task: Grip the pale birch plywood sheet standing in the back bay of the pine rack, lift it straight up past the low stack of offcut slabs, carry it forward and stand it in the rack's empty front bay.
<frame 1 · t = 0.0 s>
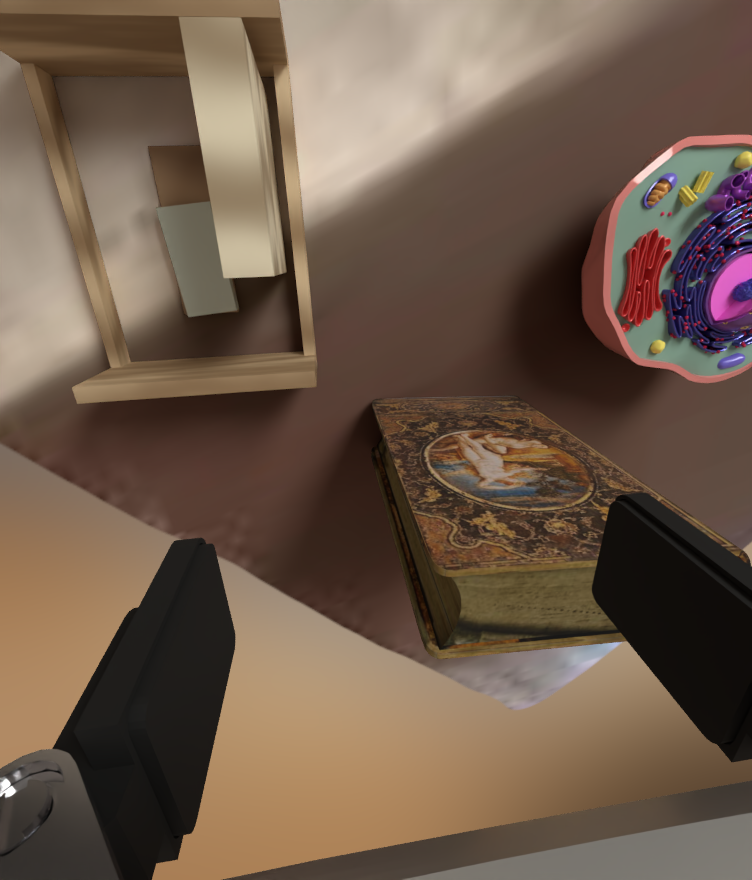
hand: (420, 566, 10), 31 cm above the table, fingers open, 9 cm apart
offcut slab top: (202, 261, 34), resting on offcut slab bottom
offcut slab bottom: (200, 236, 34), on the table, touching offcut slab top
birch sheet: (258, 191, 33), on the table
cell model: (637, 268, 39), on the table
pine rack: (197, 233, 33), on the table
book: (447, 421, 43), on the table
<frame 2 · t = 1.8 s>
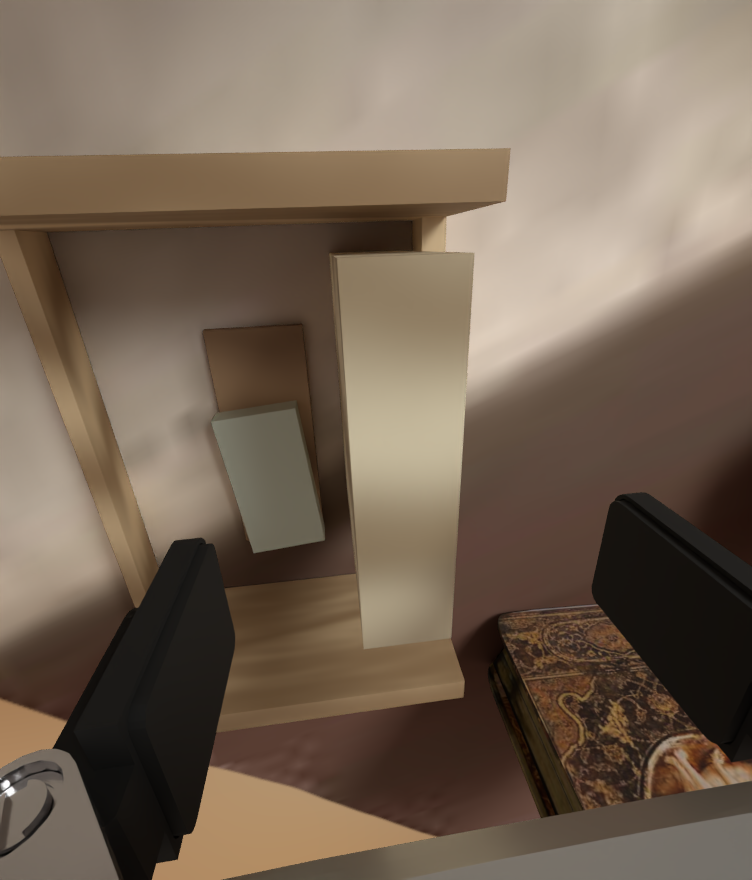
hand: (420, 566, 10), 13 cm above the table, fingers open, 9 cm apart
offcut slab top: (275, 474, 22), resting on offcut slab bottom
offcut slab bottom: (273, 435, 23), on the table, touching offcut slab top
birch sheet: (367, 379, 21), on the table
pine rack: (272, 437, 22), on the table
book: (587, 628, 32), on the table
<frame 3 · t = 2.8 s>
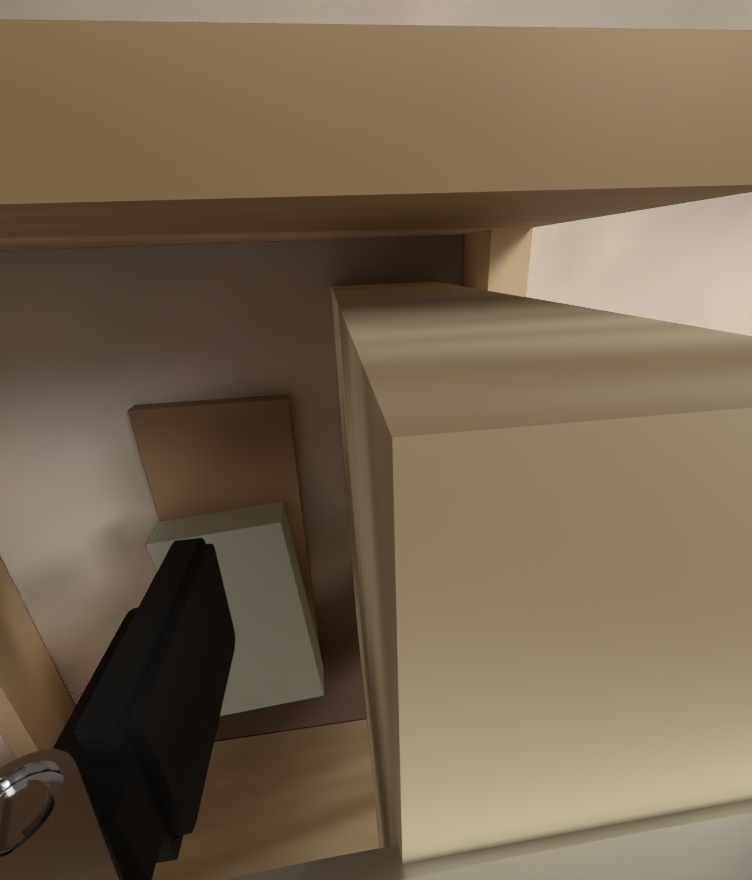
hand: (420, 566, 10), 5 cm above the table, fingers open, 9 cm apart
offcut slab top: (251, 603, 15), resting on offcut slab bottom
offcut slab bottom: (248, 546, 16), on the table, touching offcut slab top
birch sheet: (388, 470, 14), on the table
pine rack: (245, 554, 15), on the table
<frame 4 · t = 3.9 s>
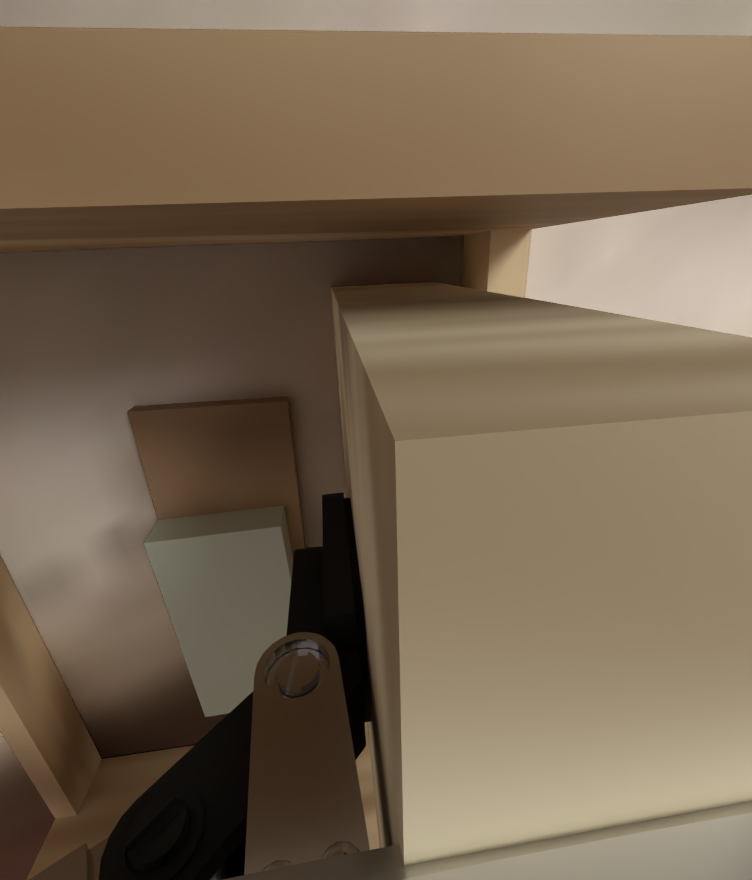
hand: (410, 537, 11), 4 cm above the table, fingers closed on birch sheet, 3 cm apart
offcut slab top: (244, 604, 15), resting on offcut slab bottom
offcut slab bottom: (246, 547, 16), on the table, touching offcut slab top
birch sheet: (388, 470, 14), on the table, touching gripper
pine rack: (245, 554, 15), on the table
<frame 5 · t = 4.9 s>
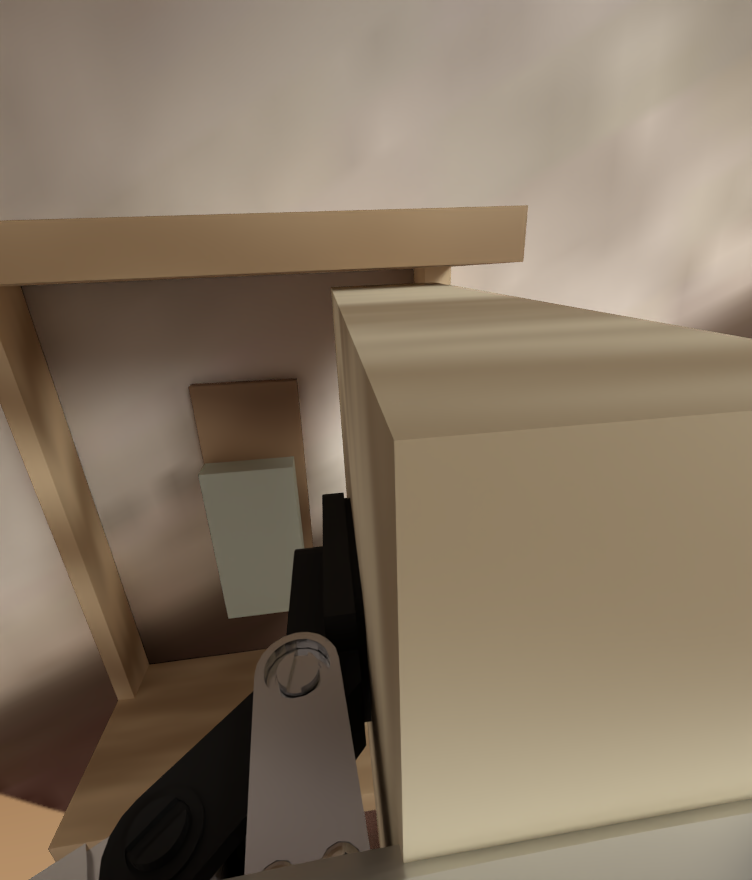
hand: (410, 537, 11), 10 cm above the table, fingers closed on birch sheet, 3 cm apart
offcut slab top: (261, 533, 21), resting on offcut slab bottom
offcut slab bottom: (264, 492, 21), on the table
birch sheet: (388, 470, 14), point 6 cm above the table, touching gripper
pine rack: (264, 495, 20), on the table
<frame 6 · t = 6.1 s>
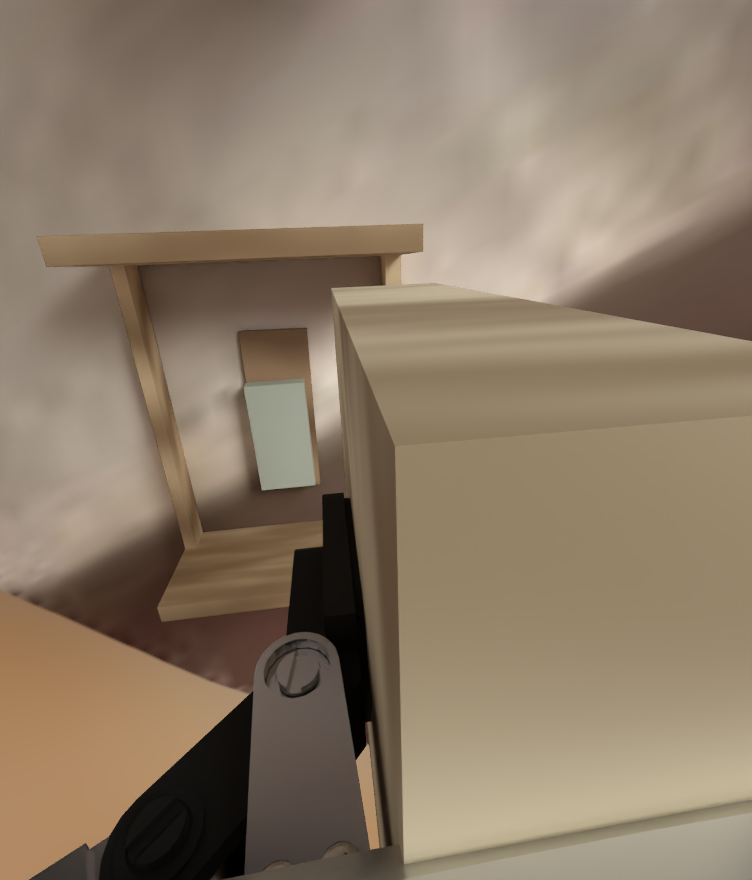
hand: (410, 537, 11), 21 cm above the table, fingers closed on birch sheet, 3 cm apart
offcut slab top: (283, 432, 31), resting on offcut slab bottom
offcut slab bottom: (283, 409, 31), on the table
birch sheet: (388, 471, 14), point 17 cm above the table, touching gripper
pine rack: (283, 408, 30), on the table
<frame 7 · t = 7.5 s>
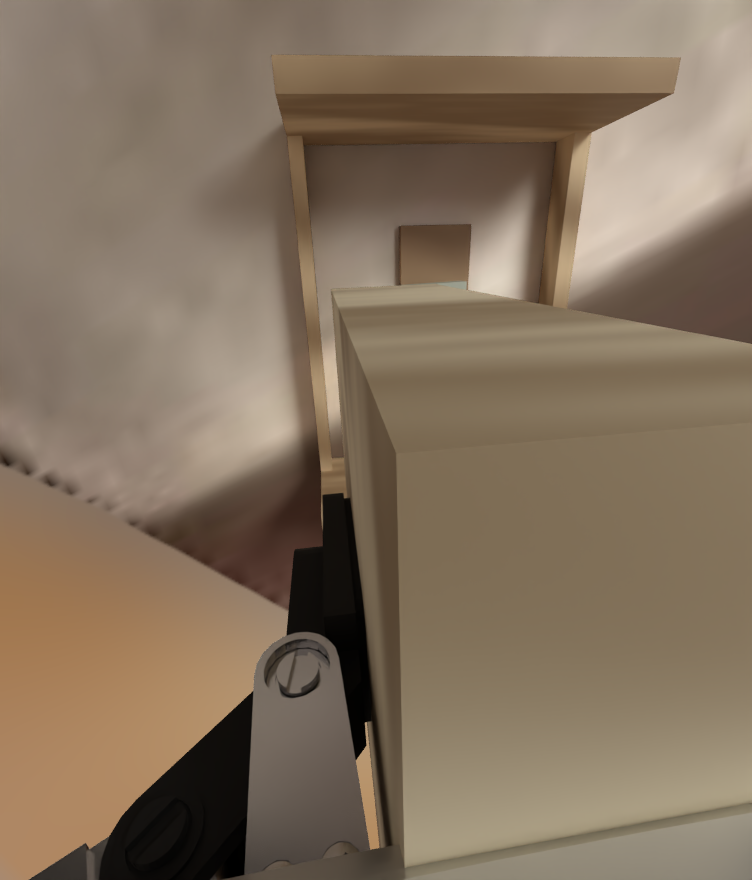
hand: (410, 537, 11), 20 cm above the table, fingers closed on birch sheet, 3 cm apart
offcut slab bottom: (429, 321, 29), on the table, touching offcut slab top
birch sheet: (389, 472, 14), point 16 cm above the table, touching gripper
pine rack: (432, 318, 28), on the table
when the fingers open (5 cm above the table, at t = 10.7 s): birch sheet drops 1 cm, on the table.
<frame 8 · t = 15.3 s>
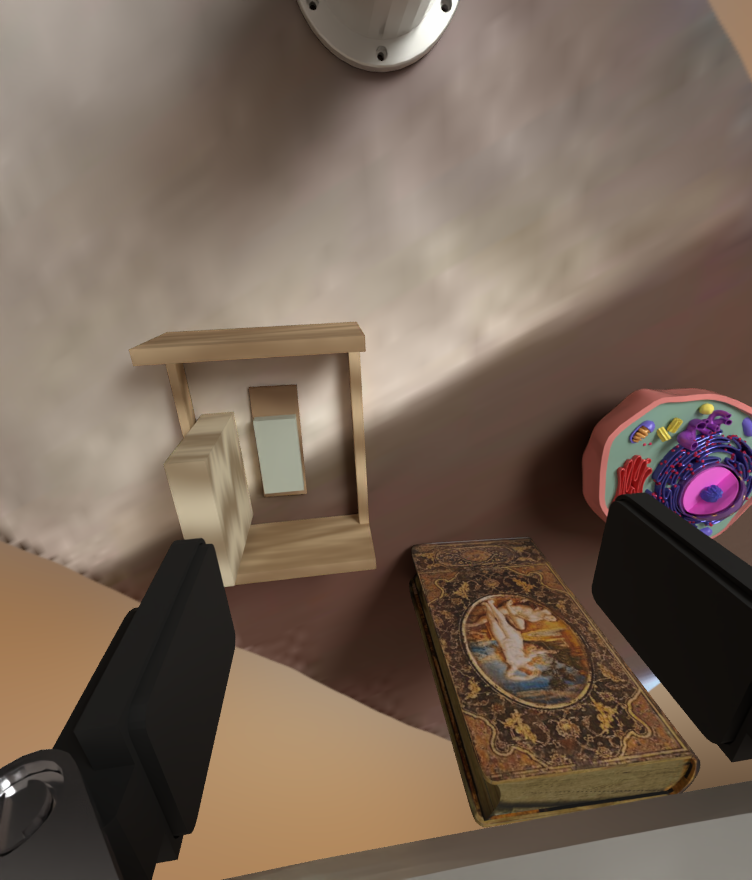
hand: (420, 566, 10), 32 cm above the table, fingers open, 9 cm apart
offcut slab top: (280, 452, 42), resting on offcut slab bottom
offcut slab bottom: (280, 439, 43), on the table
birch sheet: (229, 467, 43), on the table
cell model: (627, 443, 48), on the table
pine rack: (279, 439, 42), on the table
book: (471, 557, 52), on the table
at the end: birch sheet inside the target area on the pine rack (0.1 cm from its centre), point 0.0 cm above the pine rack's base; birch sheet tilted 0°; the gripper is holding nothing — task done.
